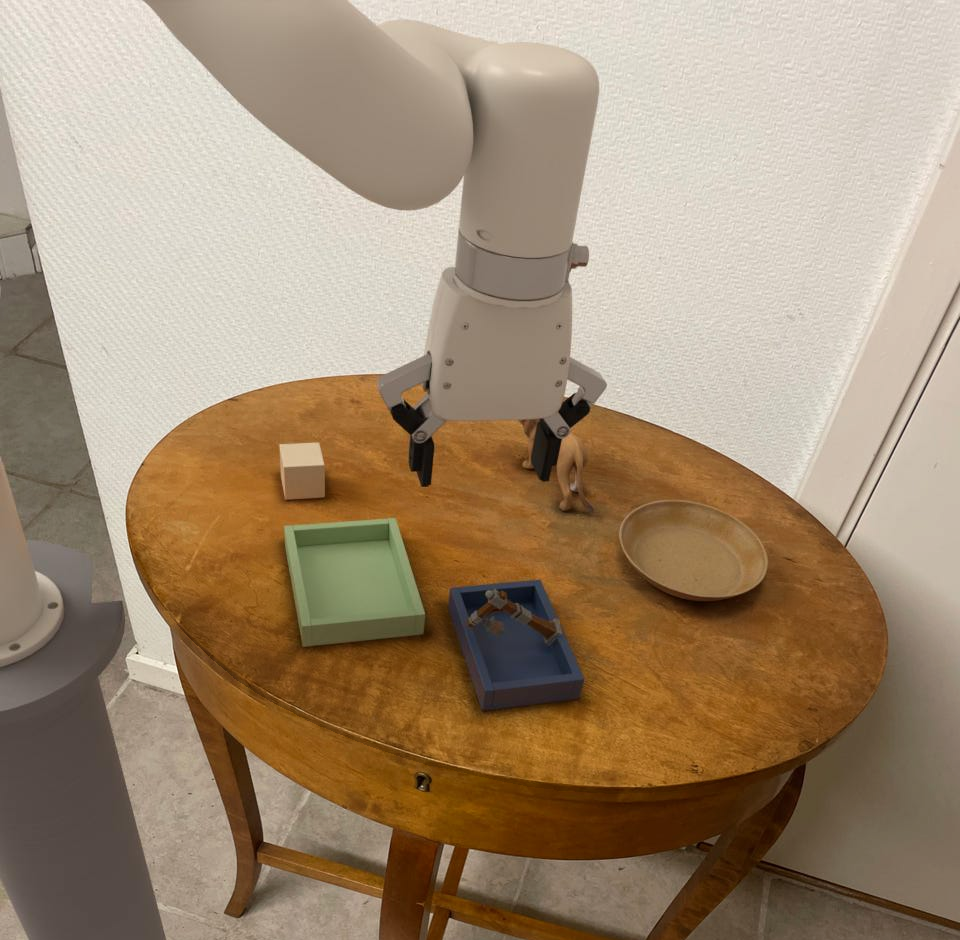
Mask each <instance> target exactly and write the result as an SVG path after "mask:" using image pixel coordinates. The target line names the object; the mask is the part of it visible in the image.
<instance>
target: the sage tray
mask: <svg viewBox="0 0 960 940" xmlns="http://www.w3.org/2000/svg"><path fill="white" fill-rule="evenodd" d="M283 530H284V531H283V532H284V549H285V552H286V560H287V564H288V565H287V566H288V571H289V577H290V583H291V587H292V594H293V599H294V607H295V610H296V618H297V622H298V628H299V633H300V640H301V645H302V648H305V647H314V646H315V647H316V646H324V645H333V644H345V643H353V642H364V641H373V640H383V639H391V638H401V637H410V636H411V637H412V636H421V635H422V636H423V635H424V632H425V621H426V612H425V609H424V605H423V602H422V599H421V596H420V592H419V589H418V586H417V582H416V579H415V576H414V573H413V570H412V567H411V563H410V560H409V557H408V553H407V549H406V547H405V544H404V541H403V538H402V537H403V536H402V534H401V531H400V527H399V524H398V521H397V518H396V517H388V518H378V519H361V520H350V521H349V520H348V521H336V522H321V523H307V524H294V525H293V524H291V525H284V526H283Z"/></svg>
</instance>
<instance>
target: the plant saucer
mask: <svg viewBox="0 0 960 940" xmlns="http://www.w3.org/2000/svg"><path fill="white" fill-rule="evenodd" d="M618 537H619V543H620V547H621V548H622V551H623V553H624V555H625V558H626V559H627V561H628V562H629V563H630V565H631V566H632V567H633V569H634V570H635V571H636V572H637V573H638V574H639V576H641V577H642V578H643V579H644V580H645V581H647V582H648V583H649V584H650V585H652V586H653V587H654V588H656V589H657V590H659V591H661V592H663V593H665V594H668V595H671V596H673V597H675V598H676V597H677V598H679V599H684V600H686V601H687V600H689V601H695V602H712V601H713V602H715V601H722V600H727V599H731V598H734V597H737V596H740V595H743V594H745V593H747V592H749V591H751V590H753V589H754V588H756V586H758V585H759V584H760V583H761V582H762V581H763V580H764V578H765V576H766V574H767V571H768V567H769V558H768V553H767V550H766V548H765V546H764V543H763V542H762V540H761V539H760V538H759V536H758V535H757V534H756V533H755V532H754V531H753V530H752V529H751V528H750V527H749V526H748V525H747V524H745V523H744V522H743V521H741V520H740V519H738V518H737V517H735V516H733V515H731V514H730V513H728V512H726V511H723V510H721V509H719V508H716V507H714V506H711V505H708V504H704V503H700V502H696V501H691V500H684V499H682V500H681V499H663V500H655V501H652V502H647V503H644V504H643V505H640V506H637V507H636V508H634V509H633V510H631V511H629V513H628V514H627V515H626V516H625V517H624V519H623V520H622V522H621V523H620V527H619V533H618Z"/></svg>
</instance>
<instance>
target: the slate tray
mask: <svg viewBox="0 0 960 940" xmlns="http://www.w3.org/2000/svg"><path fill="white" fill-rule="evenodd" d="M494 589H496V590H497V591H499V592H501V591H504V592H506V594H507V598H506V599H508V600H510V601H511V602H513V603H514V604H515V603H517V604H519V607H520V606H522V607H523V608H525V609H526V610H528V611H530V612H531V614H532V615H534V616H536V617H539V618H542V619H544V620H547V621H551V622H552V621H553V620H554V619H557V620H558V616H557V613H556V610H555V608H554V607H553V604H552V602H551V600H550V598H549V596H548V593H547V591H546V589H545V586H544V584H543V582H542V580H541V579H533V580H532V579H531V580H520V581H508V582H497V583H485V584H477V585H465V586H463V585H462V586H456V587H449V593H448V602H447V611H448V613H449V616H450V619H451V622H452V625H453V628H454V631H455V634H456V637H457V640H458V643H459V646H460V649H461V652H462V655H463V658H464V661H465V664H466V667H467V669H468V673H469V676H470V679H471V682H472V685H473V688H474V691H475V695H476V697H477V700H478V704H479V706H480V709H481V711H482V712H485V711H494V710H501V709H508V708H517V707H525V706H532V705H534V706H535V705H541V704H549V703H558V702H564V701H573V700H579V699H580V697H581V693H582V690H583V686H584V684H585V683H584V682H585V677H584V675H583V672H582V670H581V668H580V665H579V663H578V661H577V659H576V657H575V654H574V652H573V650H572V647H571V645H570V643H569V641H568V638H567V637H566V634H565V631H564V630H563V627H562V625H561V623H560V621H559V623H560V627H561V631H562V634H561V635H560V636H557V637H556V640H554V641H553V642H552V643H551V644H550V645H549V646H548V645H547V644H545V640H544V637H543V636H542V635H541V634H540V633H538V632H537V631H536V630H534V629H533V628H532V627H530V626H528V625H527V624H526V625H524V624H522V623H521V622H519V621H517V620H515V617H514V618H512V617H510V614H509V613H508V612H506V611H502V612H498V613H493V614H488V615H486V616H485V617H483V619H486V618H488V619H489V620H490V619H491V618H492V617H493V616H494V620H496V621H498V622H502V623H503V627H504V628H505V633H503V634H498V635H497V636H496V634H494V633H493V632H491V631H489V632H487V630H486V625H485V626H484V624H483V623H482V622H481V621H480V622H479V623H478V624H477V623H476V625H475V626H473V627H472V628H470V627H469V626H467V623H466V620H468V619H469V617H471V615H472V614H473V613H474V612H475V611H476V610H477V611H478V610H479V609H480V608H482V607H483V606H484V605H485V604H486V603H487V602H488V598H487V597H486V596H485V593H486V592H487V591H488V590H491V591H493V590H494ZM495 608H497V607H495ZM495 608H494V609H495ZM482 621H483V620H482Z"/></svg>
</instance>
